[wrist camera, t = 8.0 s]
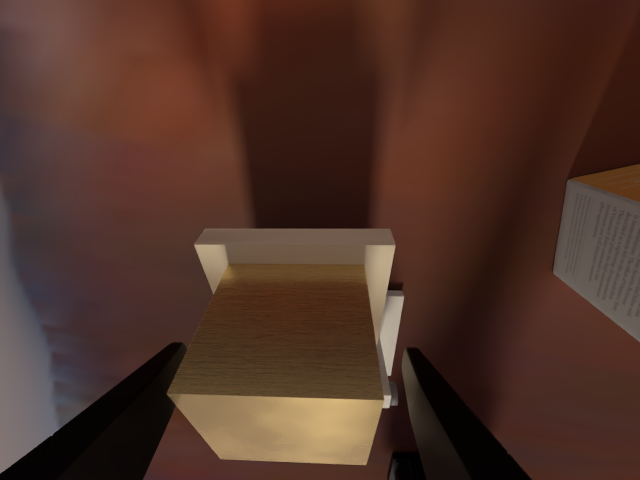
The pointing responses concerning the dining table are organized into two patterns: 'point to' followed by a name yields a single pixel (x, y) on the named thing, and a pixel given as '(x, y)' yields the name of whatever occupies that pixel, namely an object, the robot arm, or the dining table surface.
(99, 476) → the robot arm
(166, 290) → the dining table surface
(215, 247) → the beam
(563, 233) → the small box
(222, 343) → the wooden block
